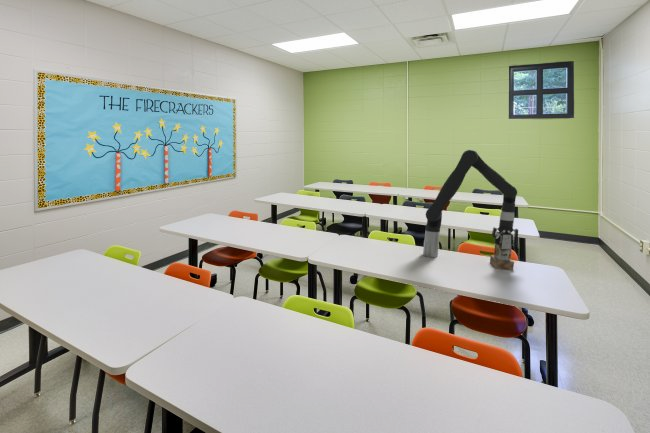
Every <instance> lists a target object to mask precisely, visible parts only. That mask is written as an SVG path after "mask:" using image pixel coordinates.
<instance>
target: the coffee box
mask: <svg viewBox="0 0 650 433" xmlns="http://www.w3.org/2000/svg"><path fill="white" fill-rule="evenodd" d="M498 232H499V231H496V234H495V236H496V235H497V233H498ZM498 234H500V233H498ZM513 237H514V234H512V233H511V234H501V235H500V237H499V238H498V243H497V245H496V244H495V243H494V254H493V255H494V257H496V258H498V259H499V260H507V261H510V259H511V255H512V248H513V245H512V242H513Z"/></svg>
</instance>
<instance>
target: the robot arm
mask: <svg viewBox="0 0 650 433" xmlns="http://www.w3.org/2000/svg"><path fill="white" fill-rule="evenodd" d="M471 167H472V168H474V169H475V170H477V171H478V172H479V173H480V174H481V175H482V176H483V177H484V178H485V179H486V181H487V182H489V183H490V184H491V185H492V186H493V187H495V188H496V189H497V190H498V191H499V192H500V193H501V194H502V195H503V196H502V197H503V198H502V205H501V211H500V216H499V224H498V227H494V226H493V227H492V233H491V237H492V238H494V245H495V244H496V245H497V243H498V238H499V237H500V235H501V234H512V233H514V234H513V242H512V246H514V243H515V240H518V239H519V229H518V228H514V223H515V211H516V198H517V195H518V189H517V188H516V187H515V186H513V185H512V184H510V183H509V181H507V180H506V179H505V177H503V176H502V175H501V174H500V173H499V172H497V171H496V170H495V169H493V168H492V167H491V166H490V165H488V164H487V163H486V162H485V161H484V160H483V159H482V158H481V157H480V155H479V153H478V151H476V150H474V149H467V150H465V151H464V152H463V153H462V154H461V156H460V159H459V161H458V162H457V165H456V167H455V168H454V169H453V171H452V172H451V173H450V174H449V176H448V177H447V178H446V180H445V182H444V183H443V184H442V186H441V188H440V190H439V192H438V194H437V196H436V197H435V200H434V201H433V202H432V203H431V205H430V206H429V207H428V208H427V210H426V211H425V218H426V220H427V221H426V225H425V233H424V240H423V249H422V250H423V251H422V254H423V256H424V257H428V258H437V257H438V255H439V247H440V246H439V243H440V233H441V226H442V221H443V220H442V219H443V218H442V217H443V210H444V209H445V207H446V205H447V204H448V203H449V202H450V201H451V200H452V199H453V197H454V196H455V195H456V193H457V192H458V190H459V189H460V187H461V186H462V184H463V181H464V180H465V177H466V174H468V171H470V169H471ZM496 232H498V233H500V234H498V233H497V235H496Z"/></svg>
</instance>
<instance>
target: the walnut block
mask: <svg viewBox="0 0 650 433" xmlns="http://www.w3.org/2000/svg"><path fill="white" fill-rule="evenodd" d="M489 264H491V265H492V267H493V268H495V269H497V270H509V271H510V270H511V271H514V267H515V266H514V265H515V261H513V260H512V259H511V258H510V261H507V260H499V259H498V258H496V257H494V254H491V255H490V259H489Z"/></svg>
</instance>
